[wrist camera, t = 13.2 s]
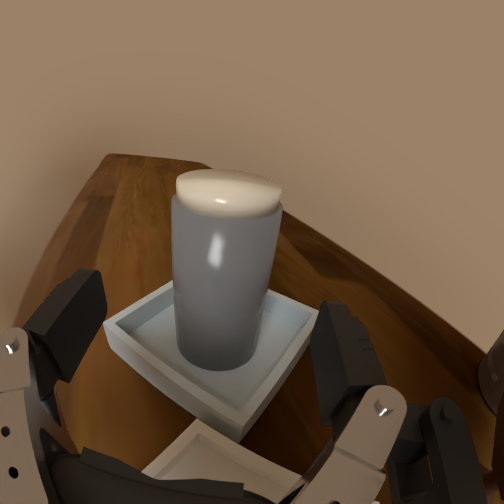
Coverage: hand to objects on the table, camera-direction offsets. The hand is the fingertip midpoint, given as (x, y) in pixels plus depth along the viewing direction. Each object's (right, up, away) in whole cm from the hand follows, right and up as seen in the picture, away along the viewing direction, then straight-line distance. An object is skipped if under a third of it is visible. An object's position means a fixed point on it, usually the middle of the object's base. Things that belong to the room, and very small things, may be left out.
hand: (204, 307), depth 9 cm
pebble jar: (-1, -4, +9) cm, 10 cm away
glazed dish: (-1, -5, +10) cm, 11 cm away
